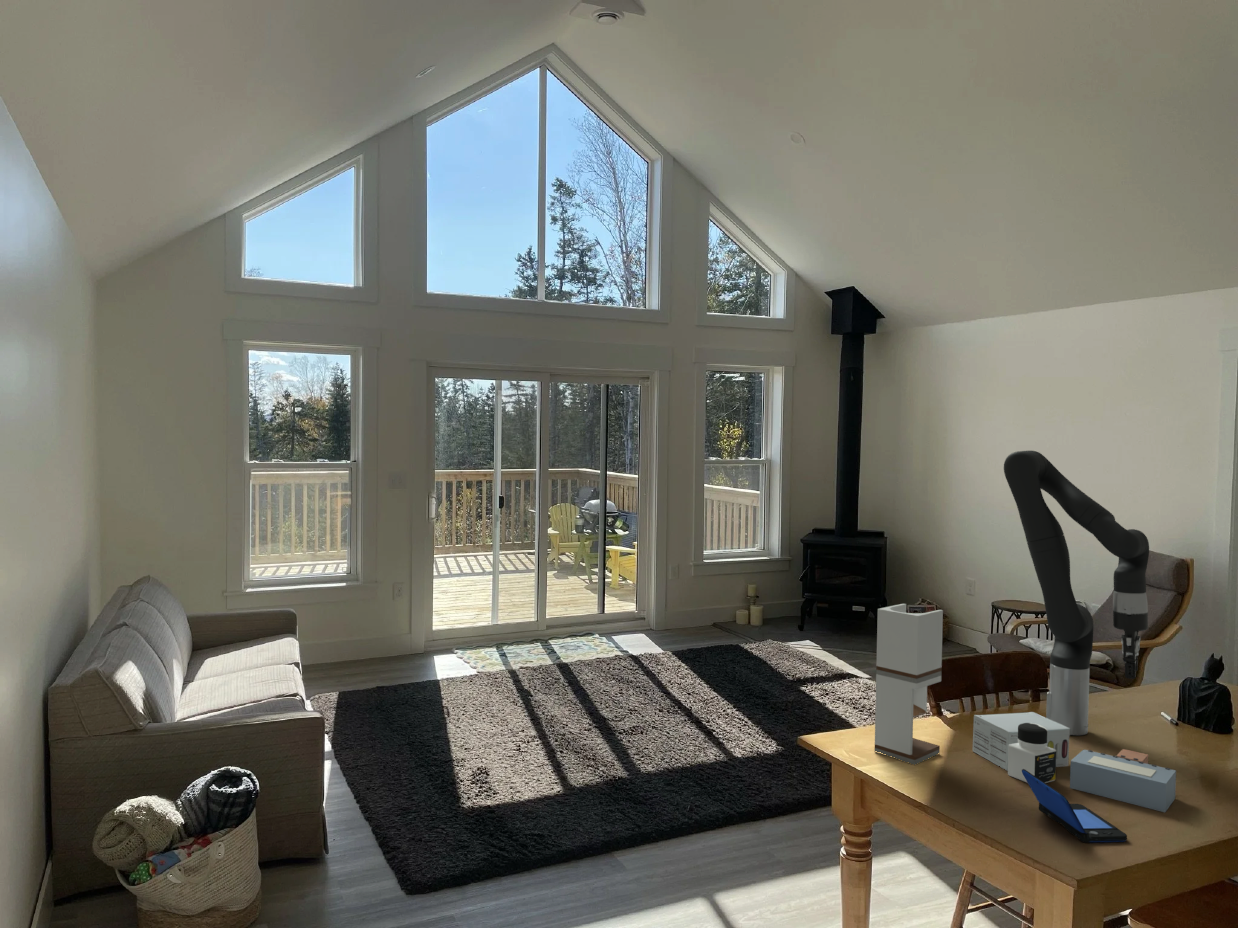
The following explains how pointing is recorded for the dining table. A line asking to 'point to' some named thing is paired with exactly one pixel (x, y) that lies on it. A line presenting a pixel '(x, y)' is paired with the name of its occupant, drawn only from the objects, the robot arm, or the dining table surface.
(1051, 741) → the supplement box
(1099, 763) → the block
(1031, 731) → the medicine bottle
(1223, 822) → the dining table surface
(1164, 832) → the dining table surface
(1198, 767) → the dining table surface
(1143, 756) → the stub
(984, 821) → the dining table surface
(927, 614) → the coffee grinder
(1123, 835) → the handheld game console
